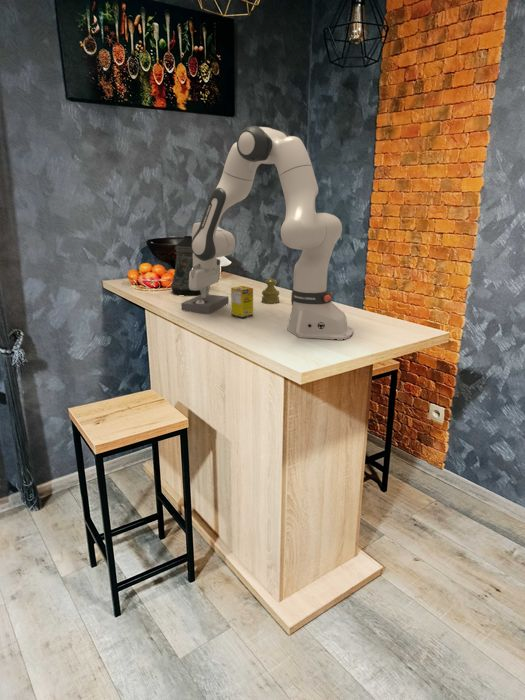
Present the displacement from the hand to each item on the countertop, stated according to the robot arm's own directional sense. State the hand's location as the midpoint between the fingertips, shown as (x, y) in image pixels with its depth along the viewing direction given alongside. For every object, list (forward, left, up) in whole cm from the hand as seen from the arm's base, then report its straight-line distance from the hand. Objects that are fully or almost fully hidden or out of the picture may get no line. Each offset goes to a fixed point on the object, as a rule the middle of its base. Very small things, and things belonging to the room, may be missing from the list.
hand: (205, 297), depth 197 cm
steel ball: (0, +4, -2) cm, 5 cm away
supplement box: (-19, +6, -4) cm, 21 cm away
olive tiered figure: (-21, -20, -4) cm, 29 cm away
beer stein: (+19, -24, -4) cm, 31 cm away
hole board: (0, -1, -4) cm, 4 cm away
